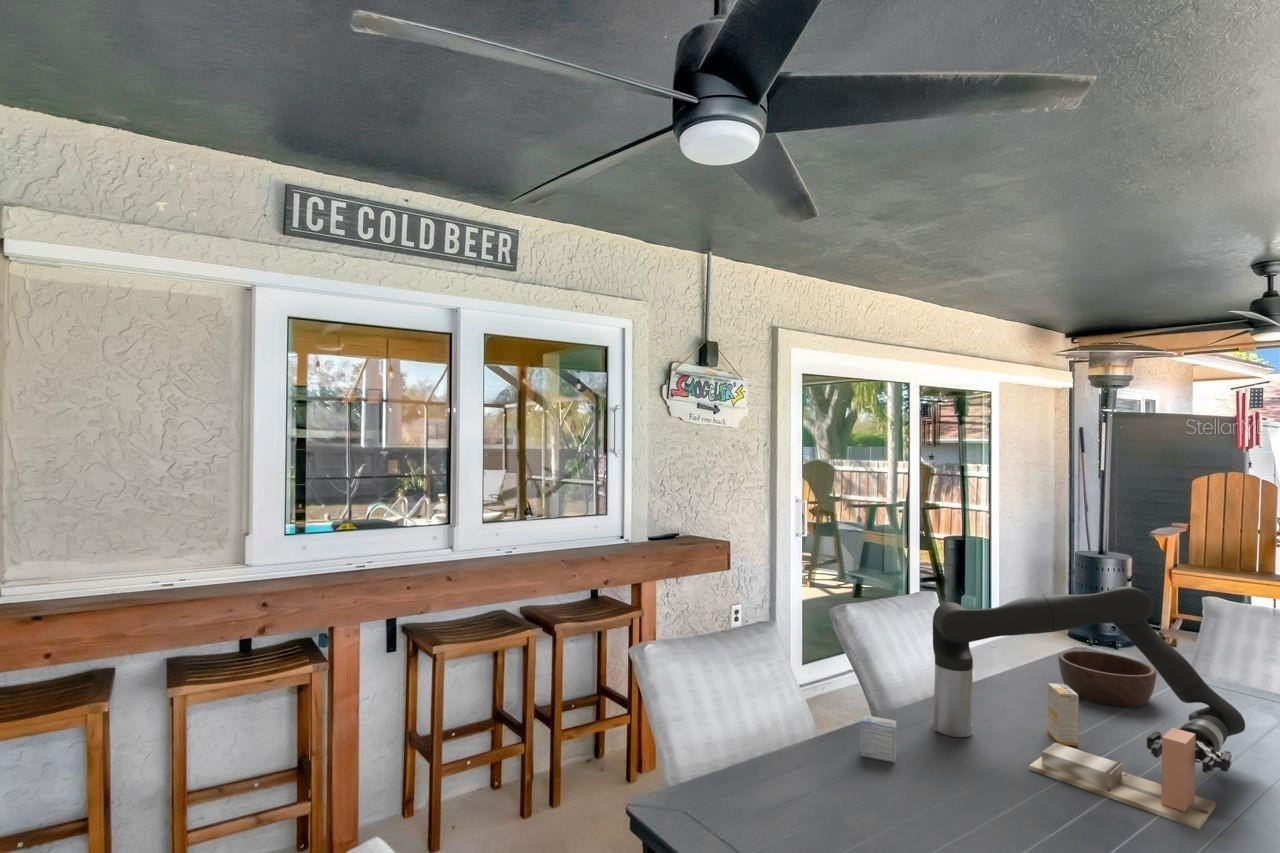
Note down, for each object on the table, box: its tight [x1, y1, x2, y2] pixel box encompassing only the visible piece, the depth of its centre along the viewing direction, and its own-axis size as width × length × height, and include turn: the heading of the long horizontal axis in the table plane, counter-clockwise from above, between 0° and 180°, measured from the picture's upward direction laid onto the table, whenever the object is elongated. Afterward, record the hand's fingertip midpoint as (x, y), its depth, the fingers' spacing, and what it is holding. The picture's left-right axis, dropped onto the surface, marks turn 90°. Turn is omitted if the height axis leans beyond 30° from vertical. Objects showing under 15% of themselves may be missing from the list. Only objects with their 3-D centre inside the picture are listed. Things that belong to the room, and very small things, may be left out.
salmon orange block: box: [1161, 727, 1196, 812], centre depth 150 cm, size 4×8×14 cm, turn 130°
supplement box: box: [1046, 682, 1079, 747], centre depth 184 cm, size 8×5×13 cm, turn 168°
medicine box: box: [860, 715, 898, 763], centre depth 171 cm, size 8×4×9 cm, turn 65°
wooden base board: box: [1028, 742, 1217, 830], centre depth 158 cm, size 32×14×4 cm, turn 40°
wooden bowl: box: [1058, 649, 1157, 708], centre depth 216 cm, size 25×25×10 cm
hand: (1179, 760), depth 150 cm, fingers open, 8 cm apart
